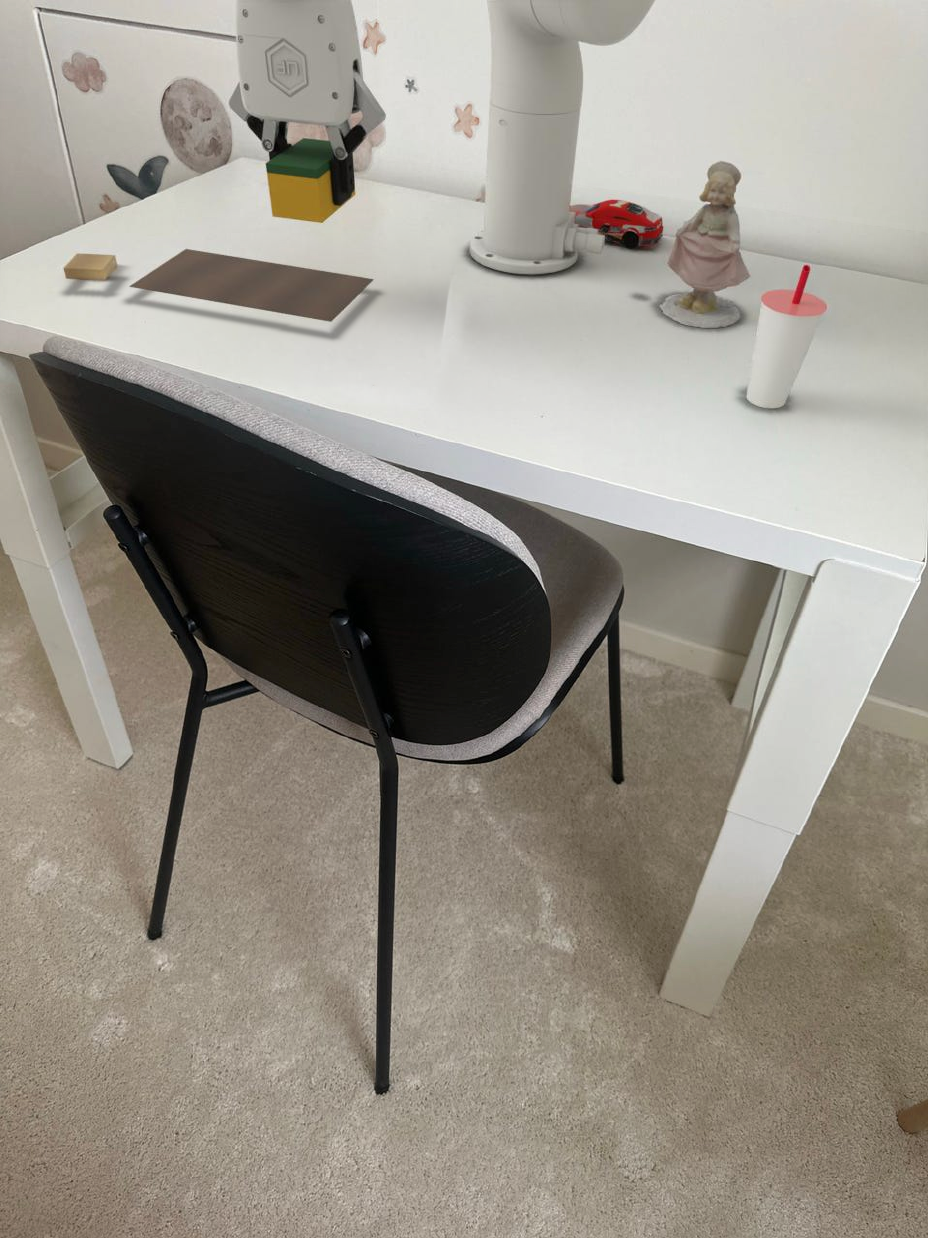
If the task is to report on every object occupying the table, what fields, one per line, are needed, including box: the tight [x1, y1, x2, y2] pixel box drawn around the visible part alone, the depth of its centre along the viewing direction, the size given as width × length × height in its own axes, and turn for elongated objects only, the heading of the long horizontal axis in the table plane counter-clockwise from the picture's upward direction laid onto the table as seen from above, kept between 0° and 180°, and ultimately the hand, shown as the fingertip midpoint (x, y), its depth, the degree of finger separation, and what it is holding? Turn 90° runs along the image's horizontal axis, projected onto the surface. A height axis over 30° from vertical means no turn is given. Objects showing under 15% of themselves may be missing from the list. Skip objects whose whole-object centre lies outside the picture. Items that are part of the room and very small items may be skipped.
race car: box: [569, 199, 664, 249], centre depth 107 cm, size 13×5×4 cm, turn 65°
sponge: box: [265, 137, 356, 224], centre depth 83 cm, size 5×8×5 cm, turn 163°
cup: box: [746, 264, 828, 409], centre depth 76 cm, size 5×5×12 cm
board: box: [129, 248, 374, 322], centre depth 92 cm, size 22×11×2 cm, turn 73°
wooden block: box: [63, 252, 118, 281], centre depth 92 cm, size 4×4×2 cm
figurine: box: [638, 160, 751, 329], centre depth 90 cm, size 11×10×15 cm
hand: (314, 195), depth 84 cm, fingers closed on sponge, 5 cm apart
